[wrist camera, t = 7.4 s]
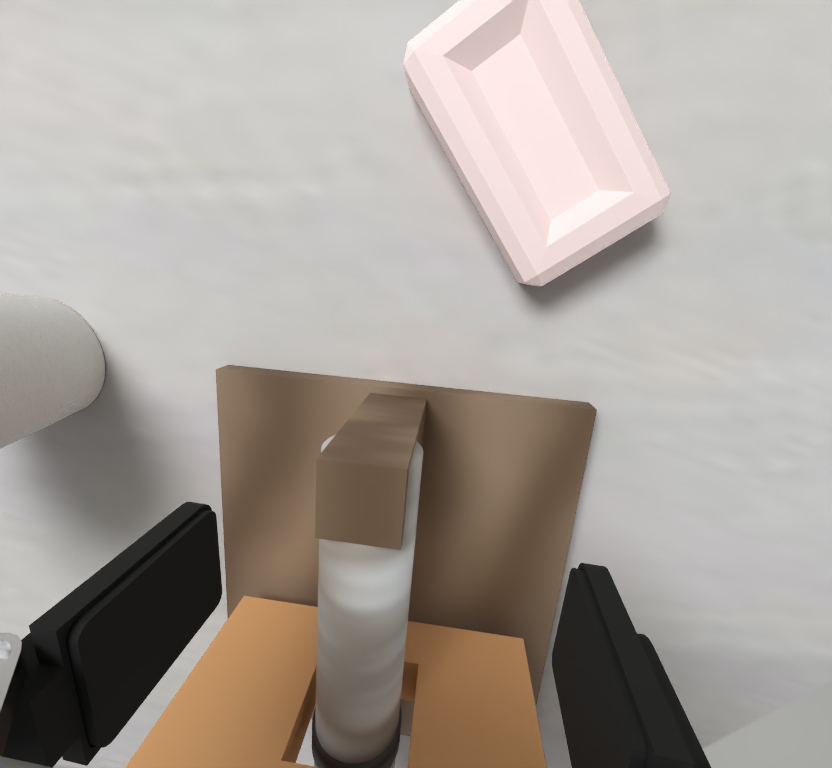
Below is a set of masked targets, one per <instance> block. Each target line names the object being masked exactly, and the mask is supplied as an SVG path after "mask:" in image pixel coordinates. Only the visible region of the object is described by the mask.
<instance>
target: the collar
mask: <svg viewBox="0 0 832 768" xmlns="http://www.w3.org/2000/svg"><path fill="white" fill-rule="evenodd" d="M317 620H318V607H315V606H308V605H301V604H295V603H288V602H282V601H275V600H269V599H262V598H256V597H249V596H244V597H243V598H242V599H241V601H240V602H239V604H238V605H237V607H236V608H235V610H234V611H233V612H232V614H231V615H230V617H229V618H228V620H227V621H226V623H225V624H224V626H223V627H222V628H221V630H220V631H219V633H218V634H217V636H216V637H215V639H214V640H213V641H212V643H211V644H210V646H209V647H208V649H207V650H206V652H205V653H204V655H203V656H202V657H201V659H200V660H199V662H198V663H197V665H196V666H195V668H194V669H193V670H192V672H191V673H190V675H189V676H188V678H187V679H186V681H185V682H184V684H183V685H182V686H181V688H180V689H179V691H178V692H177V694H176V695H175V697H174V698H173V699H172V701H171V702H170V704H169V705H168V707H167V708H166V710H165V711H164V713H163V714H162V715H161V717H160V718H159V720H158V721H157V723H156V724H155V726H154V727H153V728H152V730H151V731H150V733H149V734H148V736H147V737H146V739H145V740H144V742H143V743H142V744H141V746H140V747H139V749H138V750H137V752H136V753H135V755H134V756H133V757H132V759H131V760H130V762H129V763H128V765H127V766H126V768H318V767H313V766H308V765H302V764H297V763H296V760H297V757H298V754H299V751H300V748H301V745H302V742H303V739H304V736H305V733H306V730H307V728H308V725H309V722H310V719H311V716H312V713H313V710H314V707H315V704H316V667H317ZM401 699H403V700H409V701H415V703H414V712H413V722H412V731H411V741H410V750H409V760H408V768H547V766H546V760H545V755H544V749H543V744H542V738H541V733H540V728H539V722H538V717H537V711H536V706H535V700H534V695H533V689H532V684H531V678H530V673H529V667H528V662H527V656H526V651H525V645H524V640H523V638H516V637H510V636H503V635H497V634H490V633H484V632H477V631H471V630H464V629H458V628H451V627H445V626H438V625H432V624H425V623H419V622H412V621H408V624H407V635H406V646H405V657H404V668H403V679H402V690H401Z"/></svg>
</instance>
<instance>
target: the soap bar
mask: <svg viewBox="0 0 832 768" xmlns="http://www.w3.org/2000/svg"><path fill="white" fill-rule="evenodd" d="M403 66H404V70H405V74H406V78H407V82H408V86H409V90H410V92H411V93H412V95H413V97H414V99H415V100H416V102H417V104H418V106H419V108H420V109H421V111H422V113H423V115H424V116H425V118H426V120H427V122H428V124H429V125H430V127H431V129H432V131H433V133H434V134H435V136H436V138H437V140H438V141H439V143H440V145H441V147H442V149H443V150H444V152H445V154H446V156H447V157H448V159H449V161H450V163H451V165H452V166H453V168H454V170H455V172H456V174H457V175H458V177H459V179H460V181H461V182H462V184H463V186H464V188H465V190H466V191H467V193H468V195H469V197H470V198H471V200H472V202H473V204H474V206H475V207H476V209H477V211H478V213H479V215H480V216H481V218H482V220H483V222H484V223H485V225H486V227H487V229H488V231H489V232H490V234H491V236H492V238H493V239H494V241H495V243H496V245H497V247H498V248H499V250H500V252H501V254H502V256H503V257H504V259H505V261H506V263H507V264H508V266H509V268H510V270H511V272H512V273H513V275H514V277H515V279H516V280H517V282H518V283H522V284H526V285H530V286H543V285H545V284H547V283H548V282H550V281H552V280H553V279H555V278H557V277H558V276H560V275H561V274H563V273H565V272H566V271H568V270H570V269H571V268H573V267H575V266H576V265H578V264H580V263H581V262H583V261H585V260H586V259H588V258H590V257H591V256H593V255H595V254H596V253H598V252H600V251H601V250H603V249H605V248H606V247H608V246H610V245H611V244H613V243H615V242H616V241H618V240H620V239H621V238H623V237H625V236H626V235H628V234H630V233H631V232H633V231H635V230H636V229H638V228H640V227H641V226H643V225H645V224H646V223H648V222H650V221H651V220H653V219H655V218H656V217H658V216H660V215H661V214H663V213H664V210H665V207H666V204H667V202H668V199H669V196H670V191H669V189H668V186H667V184H666V182H665V180H664V178H663V176H662V174H661V172H660V170H659V168H658V165H657V163H656V161H655V159H654V157H653V155H652V153H651V151H650V149H649V147H648V144H647V142H646V140H645V138H644V136H643V134H642V132H641V130H640V128H639V126H638V123H637V121H636V119H635V117H634V115H633V113H632V111H631V109H630V107H629V105H628V102H627V100H626V98H625V96H624V94H623V92H622V90H621V88H620V86H619V83H618V81H617V79H616V77H615V75H614V73H613V71H612V69H611V67H610V65H609V62H608V60H607V58H606V56H605V54H604V52H603V50H602V48H601V46H600V44H599V41H598V39H597V37H596V35H595V33H594V31H593V29H592V27H591V25H590V23H589V20H588V18H587V16H586V14H585V12H584V10H583V8H582V6H581V4H580V2H579V0H459V1H458V2H457V3H456V4H455V5H453V6H452V7H451V8H450V9H448V10H447V11H446V12H445V13H443V14H442V15H441V16H440V17H439V18H437V19H436V20H435V21H434V22H432V23H431V24H430V25H429V26H427V27H426V28H425V29H424V30H422V31H421V32H420V33H419V34H418V35H416V36H415V37H414V38H413V39H411V40H410V41H409V42H408V43H407V48H406V54H405V59H404V64H403Z"/></svg>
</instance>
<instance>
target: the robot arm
mask: <svg viewBox="0 0 832 768" xmlns="http://www.w3.org/2000/svg"><path fill="white" fill-rule="evenodd" d="M221 595H222V583H221V571H220V558H219V546H218V533H217V521H216V514H215V512H213V511H212V510H211V507H210V506H209V505H206V504H199V503H193V502H186V503H184V504H182V505H181V506H180V507H179V508H177V509H176V510H175V511H173V512H172V513H171V514H170V515H168V516H167V517H166V518H165V519H163V520H162V521H161V522H160V523H158V524H157V525H156V526H155V527H153V528H152V529H151V530H149V531H148V532H147V533H146V534H144V535H143V536H142V537H141V538H139V539H138V540H137V541H136V542H134V543H133V544H132V545H131V546H129V547H128V548H127V549H125V550H124V551H123V552H122V553H120V554H119V555H118V556H117V557H115V558H114V559H113V560H112V561H110V562H109V563H108V564H107V565H105V566H104V567H103V568H101V569H100V570H99V571H98V572H96V573H95V574H94V575H93V576H91V577H90V578H89V579H88V580H86V581H85V582H84V583H83V584H81V585H80V586H79V587H77V588H76V589H75V590H74V591H72V592H71V593H70V594H69V595H67V596H66V597H65V598H64V599H62V600H61V601H60V602H58V603H57V604H56V605H55V606H53V607H52V608H51V609H50V610H48V611H47V612H46V613H45V614H43V615H42V616H41V617H40V618H38V619H37V620H36V621H34V622H33V623H32V624H31V625H29V628H30V632H31V633H29V634H28V635H27V636H26V637H25V638H23V639H22V640H20V638H19V637H18V636H17V635H14V634H11V633H0V768H52V767H53V766H54V765H55V764H56V763H57V761H58V760H59V759H60V758H61V757H63V760H66V761H70V762H74V763H78V764H83V765H88V764H89V762H90V761H91V760H92V759H93V757H94V756H95V755H96V754H97V752H98V751H99V750H100V748H101V747H106V746H107V745H109V744H110V743H111V742H112V741H113V740H114V739H115V738H116V736H117V735H118V734H119V732H120V731H121V730H122V728H123V727H124V726H125V725H126V723H127V722H128V721H129V719H130V718H131V717H132V716H133V714H134V713H135V712H136V710H137V709H138V708H139V707H140V705H141V704H142V703H143V701H144V700H145V699H146V697H147V696H148V695H149V694H150V692H151V691H152V690H153V688H154V687H155V686H156V685H157V683H158V682H159V681H160V679H161V678H162V677H163V675H164V674H165V673H166V672H167V670H168V669H169V668H170V666H171V665H172V664H173V663H174V661H175V660H176V659H177V657H178V656H179V655H180V654H181V652H182V651H183V650H184V648H185V647H186V646H187V644H188V643H189V642H190V641H191V639H192V638H193V637H194V635H195V634H196V633H197V632H198V630H199V629H200V628H201V626H202V625H203V624H204V622H205V621H206V620H207V619H208V617H209V616H210V615H211V613H212V612H213V611H214V610H215V608H216V607H217V605H218V604H219V602H220V599H221ZM552 667H553V673H554V678H555V683H556V688H557V693H558V698H559V703H560V709H561V714H562V719H563V724H564V729H565V734H566V739H567V744H568V749H569V754H570V760H571V765H572V768H711V766H710V764H709V762H708V760H707V758H706V756H705V754H704V752H703V750H702V747H701V745H700V743H699V741H698V739H697V737H696V735H695V733H694V731H693V729H692V726H691V724H690V722H689V720H688V718H687V716H686V714H685V712H684V710H683V708H682V706H681V703H680V701H679V699H678V697H677V695H676V693H675V691H674V689H673V687H672V685H671V682H670V680H669V678H668V676H667V674H666V672H665V670H664V668H663V666H662V664H661V661H660V659H659V657H658V655H657V653H656V651H655V649H654V647H653V645H652V643H651V642H650V640H649V638H648V637H646V636H645V635H643V634H638V633H636V631H635V629H634V626H633V624H632V622H631V620H630V617H629V615H628V613H627V611H626V608H625V606H624V604H623V602H622V600H621V597H620V595H619V593H618V591H617V588H616V586H615V584H614V582H613V579H612V577H611V575H610V573H609V571H608V569H607V568H606V567H604V566H598V565H591V564H585V563H581V564H580V565H579V567H578V569H576V568H572V569H571V571H570V575H569V579H568V584H567V588H566V593H565V597H564V602H563V607H562V611H561V616H560V620H559V625H558V629H557V634H556V638H555V643H554V648H553V653H552Z"/></svg>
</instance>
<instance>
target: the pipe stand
mask: <svg viewBox="0 0 832 768" xmlns="http://www.w3.org/2000/svg"><path fill="white" fill-rule="evenodd" d="M216 383H217V404H218V424H219V445H220V466H221V487H222V507H223V528H224V549H225V569H226V590H227V611H228V618H229V617H230V615H231V614H232V612H233V611H234V610H235V608H236V607H237V605H238V604H239V602H240V601H241V599H242V598H243V597H244V596H249V597H256V598H262V599H269V600H275V601H282V602H288V603H295V604H301V605H308V606H315V607H318V620H317V667H316V704H315V707H314V710H313V713H312V716H311V718H312V753H313V757H314V767H318V768H394V766H395V757H396V754H397V751H398V747H399V741H400V734H402V735H408V736H411V731H412V722H413V712H414V703H415V701H409V700H403V699H401V690H402V679H403V668H404V657H405V646H406V635H407V624H408V621H412V622H419V623H425V624H432V625H438V626H445V627H451V628H458V629H464V630H471V631H477V632H484V633H490V634H497V635H503V636H510V637H516V638H523V640H524V645H525V651H526V656H527V662H528V667H529V673H530V678H531V684H532V689H533V695H534V700H535V706H536V703H537V698H538V693H539V688H540V683H541V679H542V674H543V669H544V664H545V659H546V654H547V649H548V644H549V640H550V635H551V630H552V625H553V620H554V615H555V610H556V606H557V601H558V596H559V591H560V586H561V581H562V576H563V572H564V567H565V562H566V557H567V552H568V547H569V542H570V538H571V533H572V528H573V523H574V518H575V513H576V508H577V503H578V499H579V494H580V489H581V484H582V479H583V474H584V469H585V465H586V460H587V455H588V450H589V445H590V440H591V435H592V431H593V426H594V421H595V416H596V411H597V410H596V409H595V408H594V407H593V406H592V405H591V404H590V403H587V402H577V401H568V400H558V399H548V398H539V397H529V396H520V395H510V394H501V393H491V392H481V391H472V390H462V389H453V388H443V387H434V386H424V385H415V384H405V383H395V382H386V381H376V380H367V379H357V378H348V377H338V376H328V375H319V374H309V373H300V372H290V371H281V370H271V369H261V368H252V367H242V366H233V365H228V366H225V367H222V368H219V369H216Z"/></svg>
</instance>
